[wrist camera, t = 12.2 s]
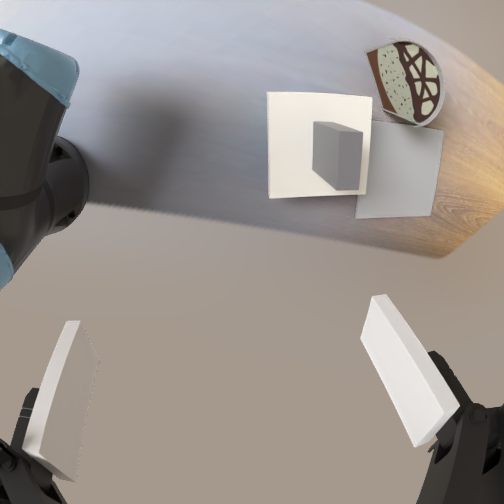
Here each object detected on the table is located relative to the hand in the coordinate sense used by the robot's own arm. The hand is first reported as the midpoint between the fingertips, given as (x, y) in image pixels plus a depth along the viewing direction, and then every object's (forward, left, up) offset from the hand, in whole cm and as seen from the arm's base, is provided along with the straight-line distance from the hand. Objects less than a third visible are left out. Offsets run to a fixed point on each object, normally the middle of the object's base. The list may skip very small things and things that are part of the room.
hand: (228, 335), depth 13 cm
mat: (+30, -2, -33) cm, 44 cm away
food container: (+26, +13, -33) cm, 44 cm away
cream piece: (+13, +3, -27) cm, 30 cm away
